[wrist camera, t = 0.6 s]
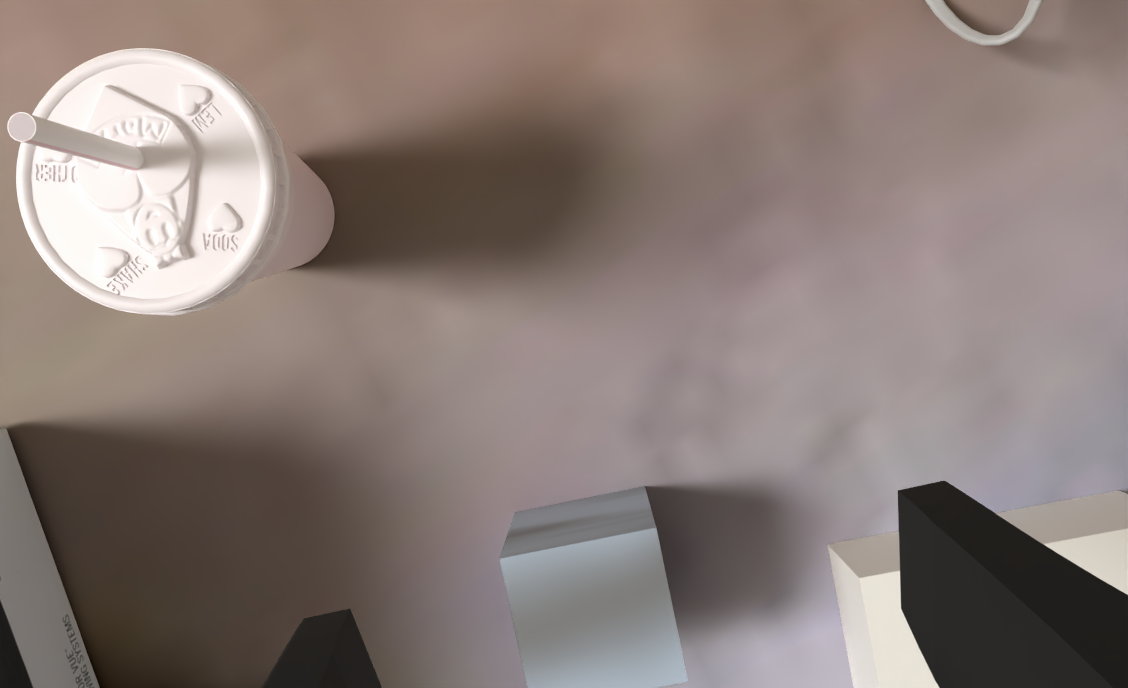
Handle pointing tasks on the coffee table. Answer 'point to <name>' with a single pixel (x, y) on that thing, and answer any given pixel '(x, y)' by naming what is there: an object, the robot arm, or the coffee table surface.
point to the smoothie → (163, 185)
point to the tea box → (33, 596)
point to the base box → (873, 599)
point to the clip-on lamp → (960, 28)
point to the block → (592, 595)
